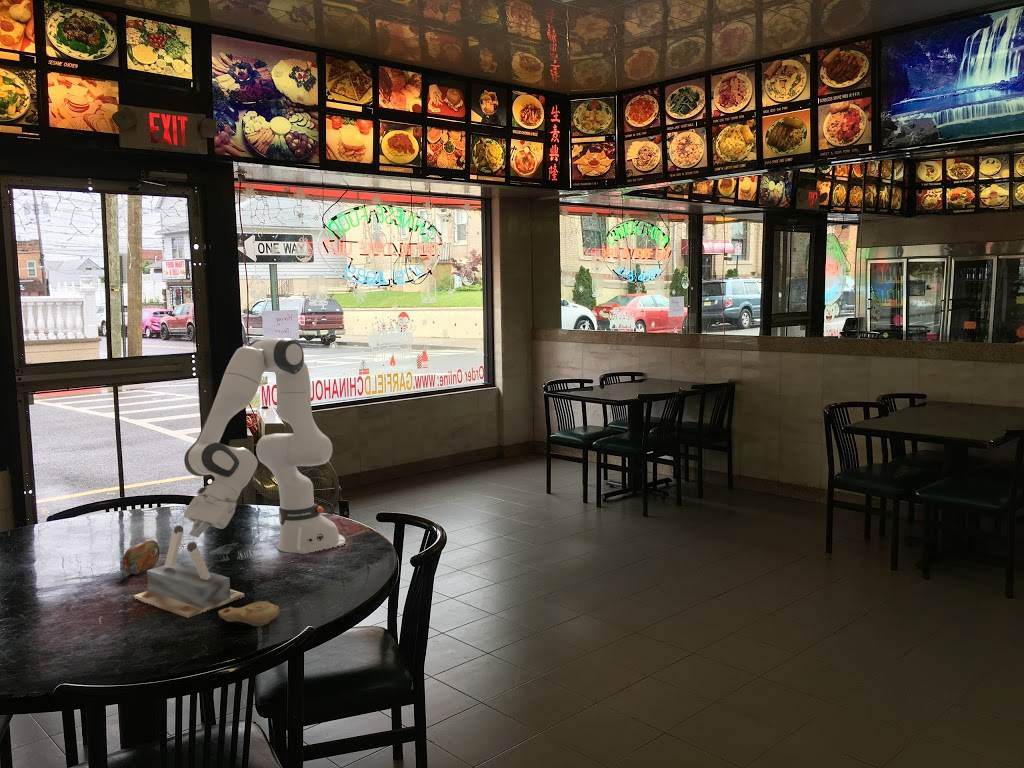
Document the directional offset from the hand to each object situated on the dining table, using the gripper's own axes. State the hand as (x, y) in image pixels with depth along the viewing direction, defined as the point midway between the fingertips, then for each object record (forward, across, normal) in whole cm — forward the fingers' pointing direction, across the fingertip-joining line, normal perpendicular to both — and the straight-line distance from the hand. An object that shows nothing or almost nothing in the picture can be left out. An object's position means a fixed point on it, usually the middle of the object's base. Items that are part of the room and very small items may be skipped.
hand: (193, 536), depth 247 cm
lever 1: (+11, 0, 0) cm, 11 cm away
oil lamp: (+17, -39, -7) cm, 43 cm away
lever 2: (+11, -18, -1) cm, 21 cm away
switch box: (+16, -9, -5) cm, 19 cm away
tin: (+13, +27, -7) cm, 30 cm away
